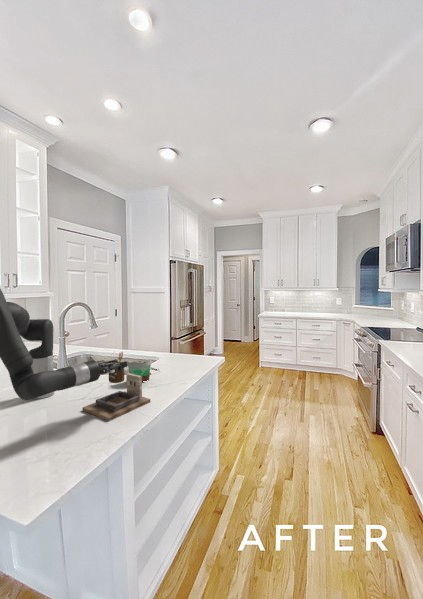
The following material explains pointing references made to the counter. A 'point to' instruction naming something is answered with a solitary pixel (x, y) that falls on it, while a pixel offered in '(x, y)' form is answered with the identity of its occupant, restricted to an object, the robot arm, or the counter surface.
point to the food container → (140, 369)
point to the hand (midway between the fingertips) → (121, 362)
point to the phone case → (155, 371)
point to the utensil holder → (118, 376)
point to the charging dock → (119, 400)
